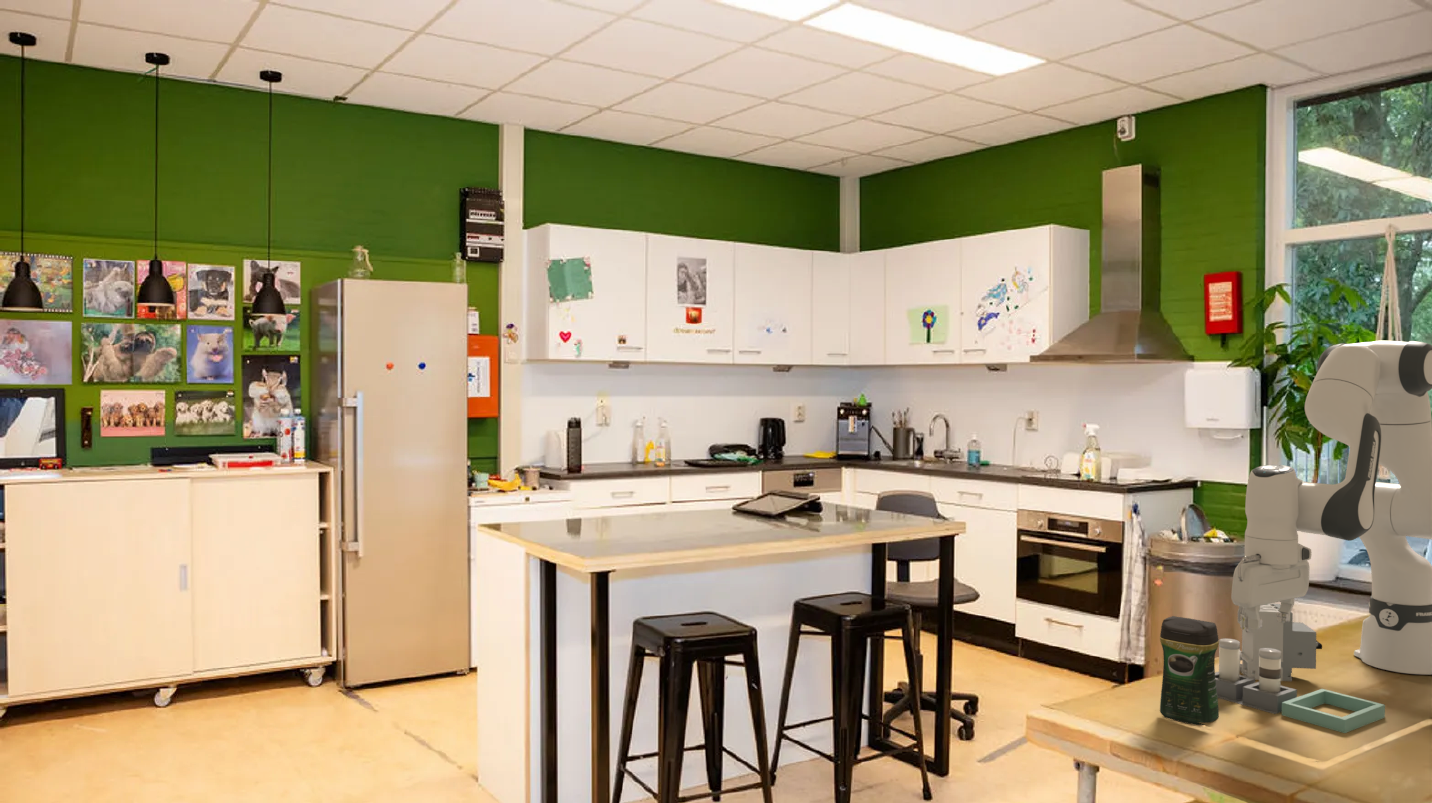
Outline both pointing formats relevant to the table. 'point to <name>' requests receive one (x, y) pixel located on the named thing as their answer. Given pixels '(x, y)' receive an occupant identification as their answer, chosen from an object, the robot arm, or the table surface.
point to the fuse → (1229, 660)
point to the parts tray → (1301, 711)
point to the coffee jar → (1189, 670)
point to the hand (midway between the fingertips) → (1269, 625)
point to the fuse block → (1253, 694)
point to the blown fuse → (1270, 670)
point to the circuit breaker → (1276, 642)
